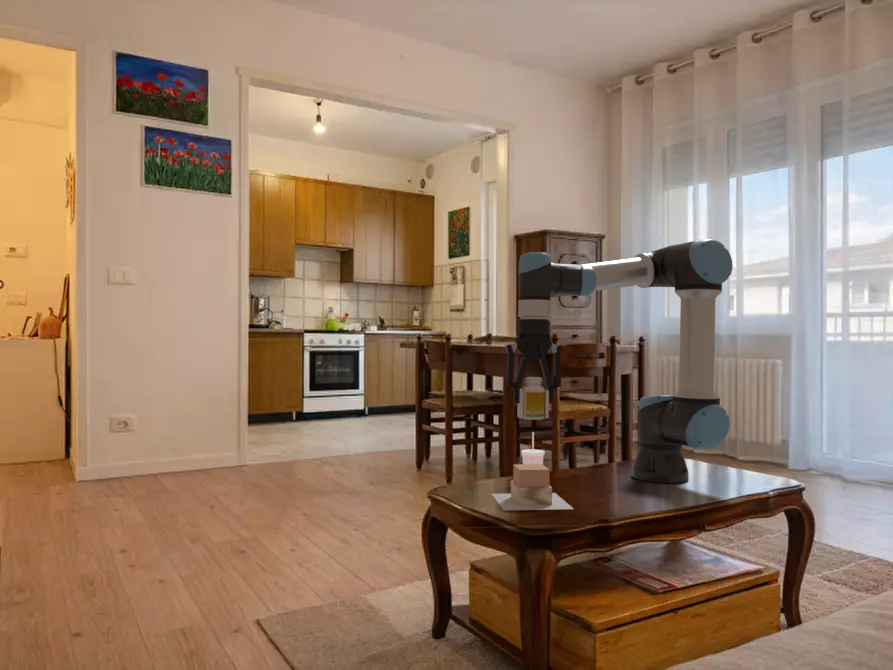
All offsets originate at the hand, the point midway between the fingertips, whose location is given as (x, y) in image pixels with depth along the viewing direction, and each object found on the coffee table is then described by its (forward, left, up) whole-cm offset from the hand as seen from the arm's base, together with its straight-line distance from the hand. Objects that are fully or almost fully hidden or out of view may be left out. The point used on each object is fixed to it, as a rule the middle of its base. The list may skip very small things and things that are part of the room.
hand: (532, 417), depth 158 cm
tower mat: (0, 0, -20) cm, 20 cm away
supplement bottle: (0, 0, -1) cm, 1 cm away
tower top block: (0, 0, -16) cm, 16 cm away
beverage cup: (-5, -19, -20) cm, 28 cm away
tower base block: (0, 0, -20) cm, 20 cm away
